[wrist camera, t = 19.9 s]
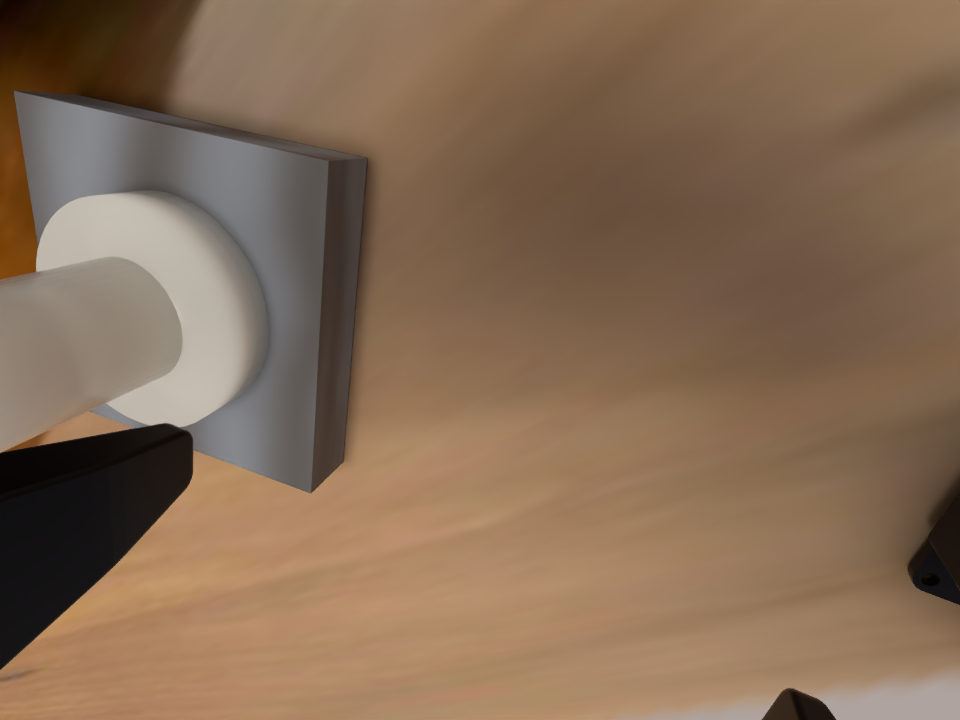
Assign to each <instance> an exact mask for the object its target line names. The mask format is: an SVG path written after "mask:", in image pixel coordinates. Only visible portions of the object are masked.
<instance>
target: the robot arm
mask: <svg viewBox="0 0 960 720" xmlns="http://www.w3.org/2000/svg"><path fill="white" fill-rule="evenodd" d="M192 475H193V437H192V435H191V433H190V432H189V431H187V430H185V429H182V428H180V427H178V426H175V425H173V424H169V423H162V424H156V425H151V426H145V427H140V428H134V429H129V430H123V431H118V432H112V433H107V434H101V435H96V436H90V437H85V438H79V439H74V440H68V441H63V442H57V443H52V444H46V445H41V446H35V447H30V448H24V449H19V450H13V451H8V452H2V453H0V670H1V669H2V668H3V667H4V666H5V665H7V664H8V663H9V662H10V661H11V660H12V659H13V658H14V657H15V656H16V655H18V654H19V653H20V652H21V651H22V650H23V649H24V648H25V647H26V646H27V645H29V644H30V643H31V642H32V641H33V640H34V639H35V638H36V637H37V636H38V635H40V634H41V633H42V632H43V631H44V630H45V629H46V628H47V627H48V626H49V625H51V624H52V623H53V622H54V621H55V620H56V619H57V618H58V617H59V616H60V615H62V614H63V613H64V612H65V611H66V610H67V609H68V608H69V607H70V606H71V605H73V604H74V603H75V602H76V601H77V600H78V599H79V598H80V597H81V596H82V595H84V594H85V593H86V592H87V591H88V590H89V589H90V588H91V587H92V586H93V585H95V584H96V583H97V582H98V581H99V580H100V579H101V578H102V577H103V576H104V575H105V574H106V573H107V572H109V571H110V570H111V569H112V568H113V567H114V566H115V565H116V564H117V563H118V562H119V561H120V560H121V559H122V558H123V557H124V556H125V555H126V554H127V552H128V551H129V550H130V549H131V548H132V547H133V546H134V545H135V544H136V543H137V542H138V540H139V539H140V538H141V537H142V536H143V535H144V534H145V533H146V532H147V531H148V530H149V529H150V527H151V526H152V525H153V524H154V523H155V522H156V521H157V520H158V519H159V518H160V517H161V515H162V514H163V513H164V512H165V511H166V510H167V509H168V508H169V507H170V506H171V505H172V503H173V502H174V501H175V500H176V499H177V498H178V497H179V496H180V495H181V494H182V493H183V492H184V490H185V489H186V488H187V486H188V485H189V483H190V481H191V479H192ZM928 538H929V540H928V542H927V543H926V544H925V546H924V547H923V548H922V550H921V551H920V552H919V554H918V555H917V556H916V558H915V559H914V560H913V562H912V563H911V564H910V566H909V568H908V574H909V576H910V578H911V580H912V582H913V584H914V585H915V586H916V587H917V588H918V589H920V590H922V591H924V592H927V593H930V594H932V595H935V596H938V597H940V598H943V599H945V600H948V601H951V602H953V603H956V604H959V605H960V494H959V495H958V496H957V498H956V499H955V500H954V502H953V503H952V504H951V506H950V507H949V508H948V510H947V511H946V512H945V514H944V515H943V516H942V518H941V519H940V520H939V522H938V523H937V524H936V526H935V527H934V528H933V530H932V531H931V532H930V534H929V535H928ZM929 573H932V574H934V575H933V576H932V577H928V578H924V577H922V576H923V575H925V574H929ZM762 720H836V719H835V717H834V716H833V714H832V713H831V712H830V710H829V709H828V707H827V706H826V705H825V704H824V703H823V702H822V701H820V700H819V699H817V698H814V697H812V696H810V695H807V694H805V693H802V692H800V691H798V690H795V689H792V688H788V689H785V690H783V691H782V692H781V694H780V695H779V696H778V698H777V699H776V700H775V702H774V703H773V705H772V706H771V707H770V709H769V710H768V712H767V713H766V715H765V716H764V718H763V719H762Z"/></svg>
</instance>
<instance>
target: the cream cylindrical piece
mask: <svg viewBox="0 0 960 720" xmlns="http://www.w3.org/2000/svg"><path fill="white" fill-rule="evenodd" d="M268 341H269V324H268V315H267V309H266V303H265V300H264V296H263V293H262V289H261V287H260V284H259V282H258V279H257V277H256V274H255V272H254V270H253V268H252V266H251V264H250V262H249V261H248V259H247V257H246V256H245V254H244V253H243V251H242V249H241V248H240V246H239V245H238V244H237V242H236V241H235V240H234V239H233V237H232V236H231V235H230V234H229V232H228V231H227V230H226V229H225V228H224V227H223V226H222V225H221V224H220V223H219V222H218V221H217V220H215V219H214V218H213V217H212V216H211V215H209V214H208V213H207V212H206V211H204V210H203V209H201V208H200V207H198V206H197V205H195V204H194V203H192V202H190V201H188V200H186V199H184V198H182V197H179V196H176V195H173V194H170V193H167V192H161V191H155V190H141V191H132V192H122V193H113V194H103V195H94V196H87V197H82V198H78V199H76V200H74V201H71V202H69V203H67V204H66V205H64V206H63V207H62V208H60V209H59V210H58V211H57V212H56V213H55V214H54V215H53V216H52V217H51V219H50V220H49V222H48V224H47V225H46V227H45V229H44V231H43V234H42V236H41V239H40V243H39V247H38V251H37V261H36V272H34V273H29V274H24V275H20V276H15V277H10V278H6V279H1V280H0V453H1V452H3V451H5V450H7V449H10V448H12V447H14V446H16V445H18V444H20V443H22V442H24V441H27V440H29V439H31V438H33V437H35V436H37V435H39V434H42V433H44V432H46V431H48V430H50V429H52V428H54V427H56V426H59V425H61V424H63V423H65V422H67V421H69V420H71V419H73V418H76V417H78V416H80V415H82V414H84V413H86V412H88V411H91V410H93V409H95V408H97V407H99V406H101V405H103V404H105V403H106V404H108V405H109V406H111V407H112V408H113V409H115V410H116V411H118V412H120V413H121V414H123V415H125V416H127V417H129V418H131V419H133V420H135V421H138V422H140V423H143V424H147V425H150V426H151V425H156V424H162V423H169V424H173V425H175V426H178V427H184V426H187V425H190V424H193V423H196V422H197V421H199V420H201V419H203V418H204V417H206V416H208V415H209V414H211V413H213V412H214V411H216V410H218V409H219V408H221V407H223V406H224V405H226V404H228V403H229V402H231V401H233V400H234V399H236V398H238V397H239V396H241V395H242V394H244V393H245V392H246V391H247V390H248V389H249V388H250V387H251V386H252V385H253V383H254V382H255V381H256V379H257V378H258V376H259V374H260V372H261V370H262V368H263V365H264V362H265V359H266V355H267V350H268Z"/></svg>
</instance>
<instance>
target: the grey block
mask: <svg viewBox="0 0 960 720" xmlns="http://www.w3.org/2000/svg"><path fill="white" fill-rule="evenodd" d="M14 95H15V102H16V108H17V114H18V121H19V127H20V133H21V140H22V146H23V152H24V159H25V165H26V172H27V178H28V184H29V191H30V197H31V203H32V210H33V216H34V222H35V229H36V235H37V241H38V247H39V243H40V239H41V236H42V234H43V231H44V229H45V227H46V225H47V224H48V222H49V220H50V219H51V217H52V216H53V215H54V214H55V213H56V212H57V211H58V210H59V209H60V208H62V207H63V206H64V205H66V204H67V203H69V202H71V201H74V200H76V199H78V198H82V197H87V196H94V195H103V194H113V193H122V192H132V191H141V190H155V191H161V192H167V193H170V194H173V195H176V196H179V197H182V198H184V199H186V200H188V201H190V202H192V203H194V204H195V205H197V206H198V207H200V208H201V209H203V210H204V211H206V212H207V213H208V214H209V215H211V216H212V217H213V218H214V219H215V220H217V221H218V222H219V223H220V224H221V225H222V226H223V227H224V228H225V229H226V230H227V231H228V232H229V234H230V235H231V236H232V237H233V239H234V240H235V241H236V242H237V244H238V245H239V246H240V248H241V249H242V251H243V253H244V254H245V256H246V257H247V259H248V261H249V262H250V264H251V266H252V268H253V270H254V272H255V274H256V277H257V279H258V282H259V284H260V287H261V289H262V293H263V296H264V300H265V303H266V309H267V315H268V324H269V341H268V350H267V355H266V359H265V362H264V365H263V368H262V370H261V372H260V374H259V376H258V378H257V379H256V381H255V382H254V383H253V385H252V386H251V387H250V388H249V389H248V390H247V391H246V392H245V393H244V394H242V395H241V396H239V397H238V398H236V399H234V400H233V401H231V402H229V403H228V404H226V405H224V406H223V407H221V408H219V409H218V410H216V411H214V412H213V413H211V414H209V415H208V416H206V417H204V418H203V419H201V420H199V421H197V422H196V423H193V424H190V425H187V426H184V427H180V428H182V429H185V430H187V431H189V432H190V433H191V435H192V437H193V450H195V451H198V452H201V453H203V454H206V455H209V456H211V457H214V458H217V459H220V460H222V461H225V462H228V463H230V464H233V465H236V466H238V467H241V468H244V469H246V470H249V471H252V472H255V473H257V474H260V475H263V476H265V477H268V478H271V479H273V480H276V481H279V482H282V483H284V484H287V485H290V486H292V487H295V488H298V489H300V490H303V491H306V492H308V493H312V492H313V491H314V490H315V489H316V488H317V487H318V486H319V485H320V484H321V483H322V482H323V481H324V480H325V479H326V478H327V477H328V476H329V475H330V474H331V473H332V472H333V471H335V470H336V469H337V468H338V467H339V466H340V465H341V464H342V463H343V456H344V444H345V431H346V418H347V406H348V393H349V381H350V368H351V356H352V343H353V331H354V318H355V305H356V293H357V280H358V268H359V255H360V243H361V230H362V218H363V205H364V192H365V180H366V167H367V158H364V157H360V156H355V155H350V154H346V153H341V152H337V151H332V150H328V149H323V148H318V147H314V146H309V145H305V144H300V143H295V142H291V141H286V140H282V139H277V138H273V137H268V136H263V135H259V134H254V133H250V132H245V131H240V130H236V129H231V128H227V127H222V126H218V125H213V124H208V123H204V122H199V121H195V120H190V119H185V118H181V117H176V116H172V115H167V114H163V113H158V112H153V111H149V110H144V109H140V108H135V107H130V106H126V105H121V104H117V103H112V102H108V101H103V100H98V99H94V98H89V97H85V96H80V95H70V94H54V93H39V92H24V91H14ZM90 412H93V413H96V414H98V415H101V416H104V417H106V418H109V419H112V420H114V421H117V422H120V423H123V424H125V425H128V426H131V427H133V428H140V427H145V426H150V425H147V424H143V423H140V422H138V421H135V420H133V419H131V418H129V417H127V416H125V415H123V414H121V413H120V412H118V411H116V410H115V409H113V408H112V407H111V406H109V405H108V404H106V403H105V404H103V405H101V406H99V407H97V408H95V409H93V410H91V411H90Z"/></svg>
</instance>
